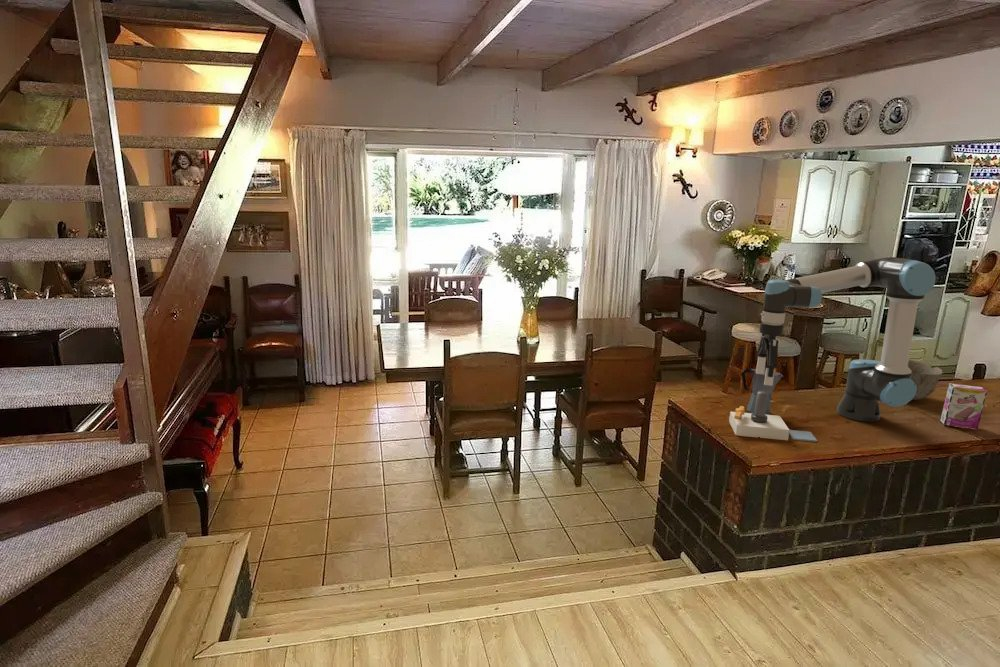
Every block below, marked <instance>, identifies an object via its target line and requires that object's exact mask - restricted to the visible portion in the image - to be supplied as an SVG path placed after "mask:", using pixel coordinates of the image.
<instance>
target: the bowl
mask: <svg viewBox="0 0 1000 667" xmlns="http://www.w3.org/2000/svg"><path fill="white" fill-rule="evenodd" d="M908 367H909V368H910V370H911V371H912V373H911V380H912V381H913V382H914V383H915V384H916V387H917V390H916V394H915V396H914V397H913V399H912V400H911V401H913V400H914V401H916V400H923V399H925V398H927V397H929V396H931V395H932V394H933V393H934V392H935V390H936V387H937V384H938V383H940V381H939V380H940V378H941V377H942V375H943V373H944V372H943V369H941V368H940V367H938V366H935V367H932V366H931V365H930V364H927V363H924V362H921V361H918V360H913V359H909V361H908Z"/></svg>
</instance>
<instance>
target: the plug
mask: <svg viewBox="0 0 1000 667" xmlns="http://www.w3.org/2000/svg"><path fill="white" fill-rule="evenodd" d="M767 396H768V393H767V392H764V391H758V392H757V398H756V406H755V413H753V414H751V420H753V422H758V423H764V422H767V418H768V417H767V416H766V415H765V411H766V404H767Z"/></svg>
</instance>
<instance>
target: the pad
mask: <svg viewBox="0 0 1000 667" xmlns="http://www.w3.org/2000/svg"><path fill="white" fill-rule="evenodd" d="M789 430H790V431H789V436H790V437H791V439H792V440H794V441H803V442H810V443H811V442H813V443H814V442H815V443H817V442H818V440H817V438H816V436H814V434H813V433H812V432H811V431H806V430H805V431H804V430H797V429H796V430H795V429H794V430H793V429H789Z"/></svg>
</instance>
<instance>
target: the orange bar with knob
mask: <svg viewBox="0 0 1000 667" xmlns="http://www.w3.org/2000/svg"><path fill="white" fill-rule="evenodd" d="M745 407H746V406H743V405H740V406H739V407H736V408H735V411H734V412H735V413H736V414H735V417H734V419H738V420H739V418H740V417H741V415H744V413H746V410H745Z"/></svg>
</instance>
